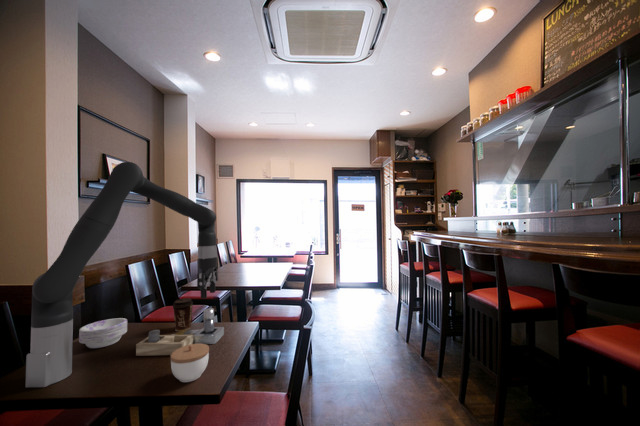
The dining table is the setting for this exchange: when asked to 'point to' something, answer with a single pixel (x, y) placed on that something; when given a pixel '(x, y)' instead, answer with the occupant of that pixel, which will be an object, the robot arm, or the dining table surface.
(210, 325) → the grey metal cylinder
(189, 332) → the white and yellow block
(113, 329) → the paper bowls
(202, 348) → the lidded jar
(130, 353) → the dining table surface
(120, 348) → the dining table surface
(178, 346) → the rack
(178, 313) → the coffee cup
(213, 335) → the socket block
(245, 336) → the dining table surface
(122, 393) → the dining table surface
